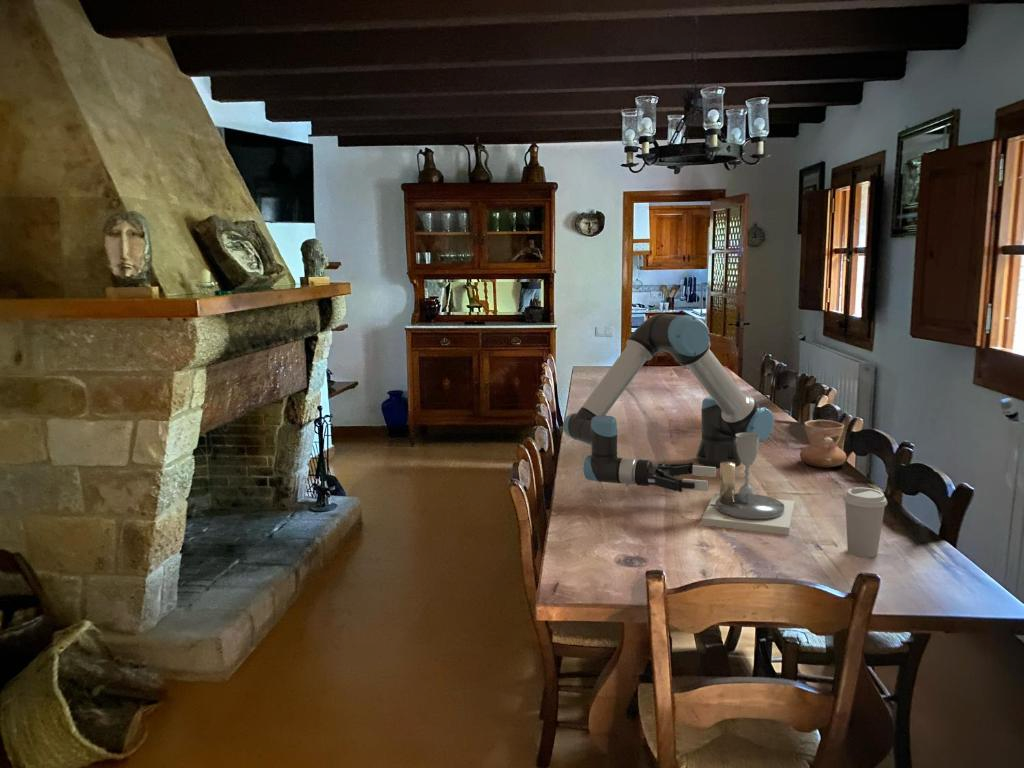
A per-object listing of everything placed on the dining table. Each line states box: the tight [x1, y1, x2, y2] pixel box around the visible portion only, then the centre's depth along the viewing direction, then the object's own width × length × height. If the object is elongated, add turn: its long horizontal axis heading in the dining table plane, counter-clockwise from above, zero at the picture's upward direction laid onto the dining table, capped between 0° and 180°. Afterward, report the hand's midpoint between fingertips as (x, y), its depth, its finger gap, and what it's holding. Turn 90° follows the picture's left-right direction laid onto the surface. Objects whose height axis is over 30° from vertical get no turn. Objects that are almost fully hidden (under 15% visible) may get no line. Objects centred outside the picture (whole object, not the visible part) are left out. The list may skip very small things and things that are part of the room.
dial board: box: [701, 492, 796, 536], centre depth 207 cm, size 22×22×2 cm
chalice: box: [736, 432, 760, 494], centre depth 225 cm, size 7×7×18 cm
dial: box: [716, 462, 784, 520], centre depth 206 cm, size 18×18×12 cm
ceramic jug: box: [799, 419, 847, 469], centre depth 252 cm, size 18×14×14 cm
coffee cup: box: [842, 486, 888, 559], centre depth 179 cm, size 10×10×15 cm
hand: (711, 478), depth 209 cm, fingers open, 13 cm apart
